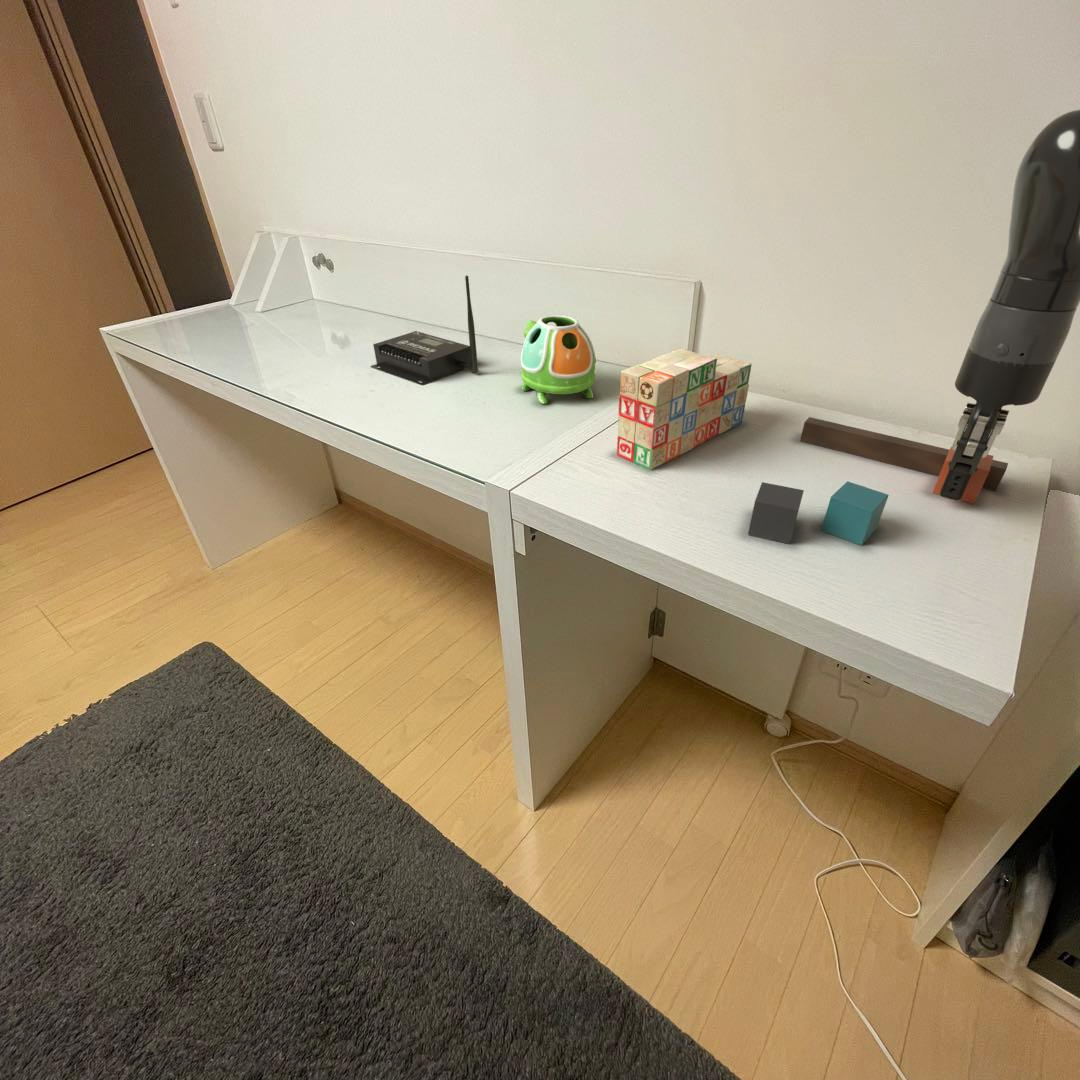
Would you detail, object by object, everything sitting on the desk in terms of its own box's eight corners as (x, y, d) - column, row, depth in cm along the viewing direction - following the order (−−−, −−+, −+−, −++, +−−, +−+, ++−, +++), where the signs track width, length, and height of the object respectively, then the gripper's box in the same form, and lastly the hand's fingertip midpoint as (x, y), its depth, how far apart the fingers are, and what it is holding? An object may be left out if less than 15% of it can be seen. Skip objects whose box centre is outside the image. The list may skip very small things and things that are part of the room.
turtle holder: (563, 365, 115) (562, 299, 108) (609, 398, 101) (612, 326, 94) (501, 376, 111) (497, 308, 104) (540, 412, 98) (538, 337, 91)
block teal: (876, 528, 69) (889, 494, 66) (861, 545, 66) (873, 511, 64) (837, 514, 72) (847, 480, 69) (820, 530, 69) (830, 496, 66)
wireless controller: (369, 366, 117) (351, 271, 107) (425, 347, 126) (413, 258, 116) (437, 390, 106) (424, 287, 96) (494, 368, 115) (487, 271, 105)
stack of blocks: (708, 411, 96) (719, 332, 89) (742, 423, 92) (757, 342, 85) (615, 455, 85) (620, 369, 78) (650, 471, 81) (658, 382, 74)
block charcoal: (795, 523, 70) (803, 490, 68) (789, 544, 67) (798, 510, 64) (754, 515, 72) (762, 481, 69) (747, 535, 69) (754, 501, 66)
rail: (998, 484, 76) (1008, 463, 74) (996, 491, 75) (1006, 469, 73) (804, 436, 88) (809, 416, 87) (799, 441, 87) (804, 421, 85)
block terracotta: (979, 488, 76) (993, 455, 73) (974, 504, 73) (989, 470, 70) (938, 478, 78) (951, 446, 75) (932, 493, 75) (945, 460, 72)
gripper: (1053, 375, 56) (979, 532, 66) (1061, 338, 64) (994, 482, 74) (959, 360, 59) (902, 510, 69) (979, 327, 68) (925, 465, 78)
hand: (950, 495), depth 72 cm, fingers closed
